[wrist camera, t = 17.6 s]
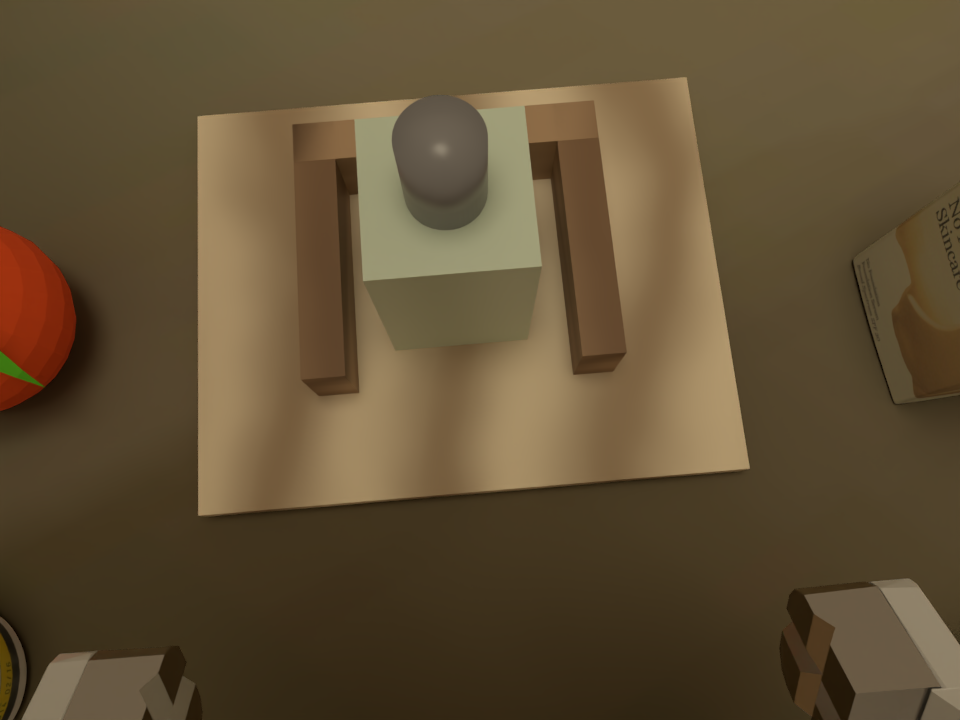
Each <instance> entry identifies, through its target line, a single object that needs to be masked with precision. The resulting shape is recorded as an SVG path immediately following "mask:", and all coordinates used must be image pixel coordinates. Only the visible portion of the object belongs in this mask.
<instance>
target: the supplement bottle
mask: <svg viewBox="0 0 960 720" xmlns="http://www.w3.org/2000/svg"><path fill="white" fill-rule="evenodd" d="M26 677H27V667H26V660H25V655H24V651H23V648H22V645H21V643H20V641H19V639H18V637H17V635H16V633H15V632H14V630H13V629H12V628H11V626H10V625H9V624H8V623H7V622H6V621H5V620H4V619H3V618H2V617H0V720H13V719H14V717H15V716H16V714H17V712H18V710H19V707H20V705H21V702H22V699H23V695H24V691H25V686H26Z"/></svg>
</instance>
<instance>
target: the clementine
mask: <svg viewBox="0 0 960 720" xmlns="http://www.w3.org/2000/svg"><path fill="white" fill-rule="evenodd" d="M75 328H76V314H75V309H74V304H73V299H72V295H71V291H70V288H69V286H68V284H67V282H66V280H65V278H64V276H63V274H62V273H61V271H60V269H59V268H58V267H57V266H56V265H55V264H54V263H53V262H52V261H51V260H50V259H49V258H48V257H47V256H46V255H45V254H44V253H43V252H42V251H41V250H40V249H39V248H38V247H37V246H36V245H35V244H34V243H33V242H31V241H29V240H27V239H26V238H24V237H22V236H20V235H18V234H16V233H14V232H12V231H10V230H8V229H5V228H3V227H1V226H0V411H2V410H5V409H8V408H11V407H13V406H15V405H18V404H20V403H22V402H23V401H25V400H27V399H28V398H30V397H32V396H34V395H35V394H37V393H39V392H40V391H41V390H42V389H43V388H44V387H45V386H46V385H47V384H48V383H50V382H51V381H52V380H53V379H54V378H55V377H56V375H57V374H58V372H59V371H60V369H61V368H62V366H63V365H64V363H65V362H66V360H67V359H68V356H69V353H70V350H71V347H72V345H73V342H74V339H75Z"/></svg>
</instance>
